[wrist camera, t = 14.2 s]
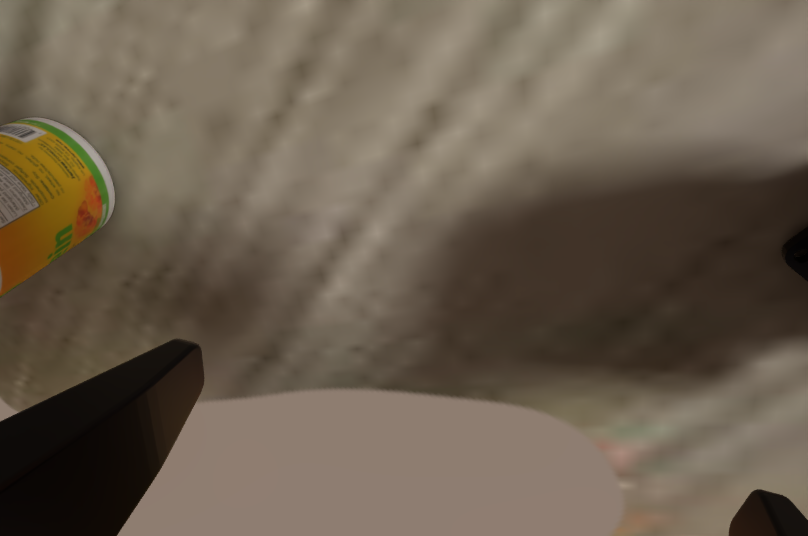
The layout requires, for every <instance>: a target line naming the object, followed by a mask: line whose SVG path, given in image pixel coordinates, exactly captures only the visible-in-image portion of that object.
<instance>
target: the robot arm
mask: <svg viewBox="0 0 808 536" xmlns="http://www.w3.org/2000/svg"><path fill="white" fill-rule="evenodd" d="M801 249H807V252H806V253H805V255H802V256H800V257H795V256H794V254H795V253H796V252H797V251H799V250H801ZM782 256H783V258H784V260H785V261H786V263H787V264H788V265H789V266H790V267H791V268H792V269H793V270H795V271H796V272H797V273H798V274H799V275H801V276H802V277H803V278H804V279H805V280H807V281H808V227H807V228H806V229H804V230H803V231H801V232H800V233H799V234H797V235H796V236H794V237H793V238H792V239H790V240H789V241H788V242H787V243H786V244H785V245H784V246H783V248H782ZM203 385H204V369H203V360H202V351H201V347H200V346H199V344H197V343H194V342H190V341H186V340H183V339H174V340H171V341H169V342H167V343H165V344H163V345H160V346H158V347H156V348H154V349H152V350H150V351H148V352H146V353H144V354H141V355H139V356H137V357H135V358H133V359H131V360H129V361H127V362H125V363H122V364H120V365H118V366H116V367H114V368H112V369H110V370H108V371H106V372H103V373H101V374H99V375H97V376H95V377H93V378H91V379H89V380H87V381H84V382H82V383H80V384H78V385H76V386H74V387H72V388H70V389H68V390H66V391H63V392H61V393H59V394H57V395H55V396H53V397H51V398H49V399H47V400H44V401H42V402H40V403H38V404H36V405H34V406H32V407H30V408H28V409H25V410H23V411H21V412H19V413H17V414H15V415H13V416H11V417H9V418H7V419H4V420H3V421H1V422H0V536H117V535H118V533H119V532H120V530H121V528H122V527H123V526H124V524H125V523H126V521H127V520H128V518H129V517H130V515H131V513H132V512H133V510H134V509H135V508H136V506H137V505H138V503H139V501H140V500H141V498H142V497H143V495H144V494H145V492H146V491H147V489H148V488H149V486H150V485H151V483H152V482H153V480H154V479H155V477H156V476H157V474H158V472H159V471H160V469H161V468H162V466H163V464H164V462H165V460H166V459H167V457H168V455H169V453H170V451H171V449H172V447H173V445H174V443H175V441H176V439H177V437H178V436H179V434H180V432H181V430H182V428H183V426H184V424H185V422H186V420H187V418H188V416H189V414H190V412H191V411H192V409H193V407H194V405H195V403H196V401H197V399H198V397H199V395H200V393H201V391H202V388H203ZM729 536H808V520H807V519H806V518H805V517H804V515H803V514H802V513H801V512H800V511H799V510H798V509H797V507H796V506H795V505H794V504H793V503H792V502H791V501H790V500H789V499H788V498H787V497H785V496H783V495H780V494H776V493H772V492H768V491H765V490H761V489H757V490H754V491H753V492H752V493H751V494H750V495H749V496H748V498H747V499H746V501H745V502H744V503H743V505H742V506H741V508H740V509H739V511H738V512H737V513H736V515H735V516H734V518H733V519H732V521H731V524H730V528H729Z"/></svg>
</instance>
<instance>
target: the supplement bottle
mask: <svg viewBox="0 0 808 536" xmlns="http://www.w3.org/2000/svg"><path fill="white" fill-rule="evenodd" d="M114 204H115V191H114V186H113V181H112V179H111V176H110V173H109V171H108V168H107V166H106V165H105V163H104V161H103V160H102V158H101V157H100V155H99V154H98V153H97V152H96V150H95V149H94V148H93V147H92V146H91V145H90V144H89V143H88V142H87V141H86V140H85V139H84V138H83V137H82V136H80V135H79V134H78V133H76V132H75V131H73V130H72V129H70V128H69V127H67V126H65V125H63V124H61V123H58V122H56V121H53V120H50V119H46V118H39V117H31V118H24V119H20V120H17V121H14V122H11V123H8V124H5V125H3V126H0V297H2V296H3V295H5V294H6V293H8V292H9V291H11V290H12V289H13V288H15V287H16V286H18V285H19V284H21V283H22V282H24V281H25V280H26V279H28V278H29V277H31V276H32V275H34V274H35V273H37V272H38V271H39V270H41V269H42V268H44V267H45V266H47V265H48V264H50V263H51V262H52V261H54V260H55V259H57V258H58V257H60V256H61V255H63V254H64V253H66V252H67V251H69V250H70V249H71V248H73V247H74V246H76V245H77V244H79V243H80V242H82V241H83V240H85V239H86V238H88V237H89V236H91V235H92V234H93V233H95V232H96V231H97V230H99V229H100V228H101V227H103V226H104V225H105V224H106V223H107V221H108V220H109V219H110V217H111V215H112V212H113V209H114Z"/></svg>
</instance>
